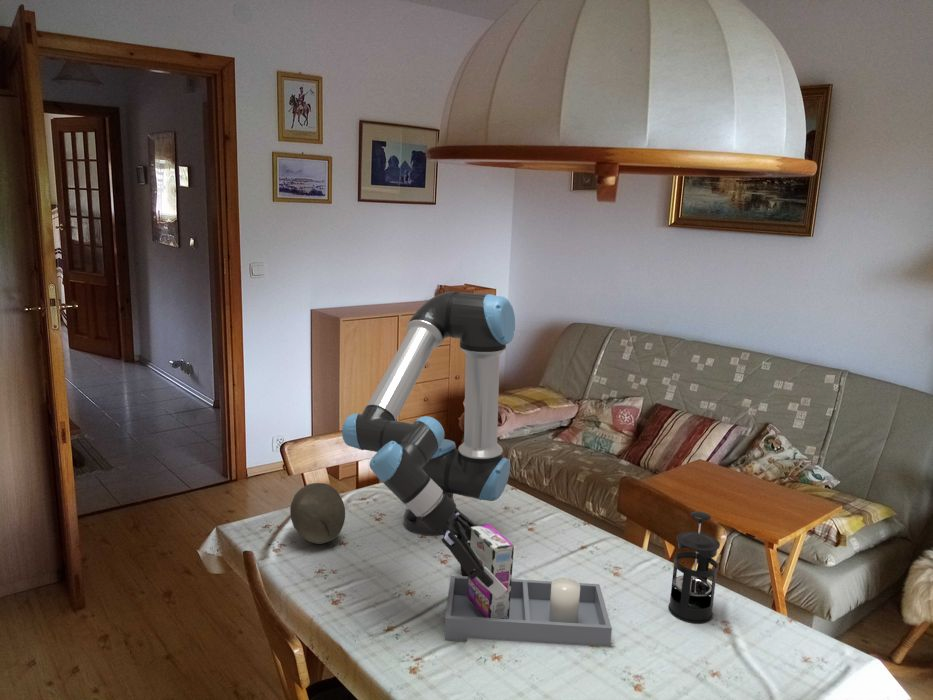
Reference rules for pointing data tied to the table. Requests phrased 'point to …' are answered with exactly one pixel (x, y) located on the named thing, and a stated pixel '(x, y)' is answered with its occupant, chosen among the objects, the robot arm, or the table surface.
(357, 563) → the table surface
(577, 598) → the cream cylinder
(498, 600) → the candy bar box
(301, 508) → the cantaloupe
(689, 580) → the french press
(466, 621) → the grey divided tray
